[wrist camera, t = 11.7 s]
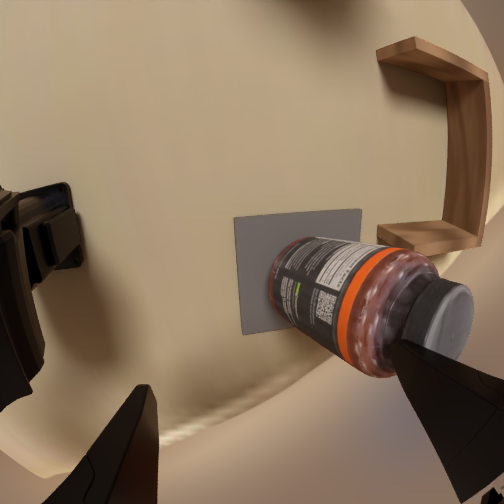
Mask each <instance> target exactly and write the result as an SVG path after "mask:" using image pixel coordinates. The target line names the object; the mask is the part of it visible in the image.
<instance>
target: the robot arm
mask: <svg viewBox="0 0 504 504" xmlns="http://www.w3.org/2000/svg"><path fill="white" fill-rule="evenodd" d="M62 186H63V187H64V192H62V191H61V187H62ZM80 242H81V238H80V234H79V229H78V224H77V219H76V214H75V210H74V209H73V208H72V202H71V196H70V190H69V185H68V184H67V183H66V182H60V183H56V184H52V185H48V186H44V187H40V188H36V189H33V190H29V191H25V192H22V193H20V192H12V191H6V190H4V189H2V187H1V186H0V412H1V411H2V410H3V409H4V408H5V407H6V406H8V405H9V404H11V403H12V402H14V401H15V400H17V399H19V398H22V397H24V396H27V395H30V394H32V393H33V390H32V388H31V386H30V384H29V382H30V381H31V380H32V379H33V378H34V377H35V376H36V374H37V373H38V372H39V371H40V370H41V368H42V366H43V364H44V359H43V356H44V350H45V341H44V338H43V335H42V331H41V328H40V324H39V320H38V316H37V312H36V308H35V304H34V300H33V295H32V291H33V289H34V288H35V287H36V286H37V285H38V284H39V283H41V282H42V281H43V280H44V279H45V278H46V277H47V276H48V275H49V274H50V273H51V272H52V271H53V270H60V269H69V268H78V267H80V266H81V265H82V264H83V262H84V259H83V255H82V251H81V247H80ZM75 258H77V259H78V260H79V262H77V261H76V260H75ZM391 362H392V365H393V367H394V369H395V372H396V374H397V376H398V378H399V381H400V383H401V385H402V388H403V389H404V392H405V394H406V396H407V398H408V399H409V401H410V403H411V405H412V407H413V408H414V410H415V412H416V414H417V416H418V417H419V419H420V421H421V423H422V425H423V427H424V429H425V431H426V432H427V434H428V436H429V438H430V440H431V442H432V444H433V446H434V448H435V450H436V452H437V454H438V456H439V458H440V460H441V462H442V464H443V466H444V469H445V471H446V473H447V475H448V477H449V479H450V481H451V484H452V486H453V488H454V490H455V492H456V495H457V497H458V499H459V501H460V503H461V504H462V503H463V502H465V501H466V500H468V499H469V498H471V497H472V496H474V495H475V494H477V493H478V492H479V491H481V490H482V489H483V488H485V487H486V486H487V485H489V484H490V483H491V484H492V485H493V487H492V488H491V489H490V490H489V491H488V492H486V494H484V495H483V496H482V500H481V504H504V380H503V379H500V378H497V377H494V376H491V375H489V374H486V373H484V372H481V371H479V370H476V369H474V368H472V367H469V366H467V365H465V364H462V363H460V362H458V361H456V360H453V359H451V358H449V357H446V356H444V355H442V354H439V353H437V352H435V351H433V350H430V349H428V348H426V347H423V346H421V345H419V344H417V343H414V342H412V341H410V340H408V339H402V340H399V341H397V342H396V343H395V345H394V349H393V352H392V355H391ZM158 457H159V433H158V415H157V402H156V398H155V396H154V394H153V391H152V389H151V387H150V385H148V384H139V385H137V386H136V387H135V388H134V390H133V391H132V392H131V394H130V395H129V396H128V398H127V399H126V400H125V402H124V403H123V404H122V406H121V407H120V408H119V410H118V411H117V412H116V414H115V415H114V416H113V418H112V419H111V421H110V422H109V423H108V425H107V426H106V427H105V429H104V430H103V431H102V433H101V434H100V435H99V437H98V438H97V439H96V441H95V442H94V443H93V445H92V446H91V448H90V449H89V450H88V452H87V453H86V455H85V456H84V457H83V458H82V460H81V461H80V462H79V464H78V465H77V466H76V467H75V469H74V470H73V471H72V472H71V474H70V475H69V476H68V477H67V478H66V479H65V480H64V481H63V483H62V484H61V485H60V486H59V487H58V488H57V489H56V490H55V491H54V492H53V493H52V494H51V495H50V496H49V497H48V498H47V499H46V500H45V501H44V502H43V503H42V504H157V489H158V486H157V485H158Z"/></svg>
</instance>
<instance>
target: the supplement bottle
mask: <svg viewBox="0 0 504 504" xmlns="http://www.w3.org/2000/svg"><path fill="white" fill-rule="evenodd" d="M268 288H269V295H270V300H271V302H272V305H273V307H274V308H275V310H276V311H277V313H278V314H279V315H280V316H281V317H282V318H284V319H285V320H286V321H288V322H289V323H291V324H292V325H293V326H294V327H296V328H297V329H299V330H300V331H302V332H303V333H304V334H306V335H307V336H309V337H310V338H312V339H313V340H315V341H316V342H317V343H319V344H321V345H322V346H323V347H325V348H326V349H328V350H329V351H331V352H332V353H334V354H335V355H337V356H338V357H340V358H341V359H343V360H344V361H346V362H347V363H349V364H350V365H352V366H353V367H355V368H356V369H358V370H359V371H361V372H363V373H364V374H366V375H369V376H371V377H376V378H389V377H391V376H395V375H397V374H396V372H395V369H394V367H393V365H392V362H391V355H392V352H393V349H394V345H395V343H396V342H397V341H399V340H402V339H408V340H410V341H412V342H414V343H417V344H419V345H421V346H423V347H426V348H428V349H430V350H433V351H435V352H437V353H439V354H442V355H444V356H446V357H449V358H451V359H453V360H456V361H457V360H458V358H459V356H460V355H461V353H462V351H463V349H464V347H465V345H466V342H467V339H468V337H469V334H470V330H471V326H472V321H473V315H474V303H473V296H472V293H471V291H470V289H469V288H468V287H467V286H466V285H463V284H460V283H456V282H452V281H449V280H446V279H441V278H440V277H439V274H438V271H437V269H436V268H435V266H434V264H433V263H432V262H431V261H430V259H428V258H427V257H426V256H424V255H423V254H421V253H419V252H416V251H412V250H409V249H403V248H396V247H390V246H383V245H376V244H369V243H361V242H354V241H347V240H339V239H332V238H324V237H304V238H301V239H298V240H296V241H294V242H292V243H291V244H289V245H288V246H287V247H285V248H284V249H283V250H282V251H281V253H280V254H279V255H278V257H277V258H276V260H275V261H274V264H273V266H272V269H271V272H270V276H269V283H268Z"/></svg>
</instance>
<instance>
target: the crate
mask: <svg viewBox="0 0 504 504" xmlns="http://www.w3.org/2000/svg"><path fill="white" fill-rule="evenodd" d="M376 52H377V61H381V62H385V63H388V64H392V65H396V66H399V67H403V68H406V69H409V70H412V71H415V72H419V73H421V74H424V75H427V76H430V77H433V78H436V79H438V80H441V81H443V82H445V84H446V96H447V112H448V163H447V180H446V192H445V202H444V211H443V219H442V220H438V221H424V222H410V223H397V224H383V225H378V230H377V237H379V238H381V239H382V240H384V241H386V242H387V243H389V244H390V245H392V246H394V247H396V248H403V249H409V250H412V251H416V252H419V253H421V254H423V255H424V256H431V255H436V254H442V253H448V252H453V251H459V250H464V249H469V248H474V247H480V246H481V243H482V238H483V233H484V227H485V221H486V215H487V208H488V200H489V191H490V180H491V166H492V113H491V99H490V88H489V80H488V73H487V72H485V71H484V70H482V69H480V68H479V67H477V66H475V65H473V64H472V63H470V62H468V61H466V60H464V59H463V58H461V57H459V56H457V55H455V54H453V53H451V52H449V51H447V50H445V49H443V48H441V47H438V46H436V45H434V44H432V43H429V42H427V41H425V40H422V39H420V38H418V37H415V36H414V37H411V38H408V39H405V40H402V41H399V42H397V43H394V44H391V45H388V46H386V47H383V48H380V49H378V50H376Z"/></svg>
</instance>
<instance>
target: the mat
mask: <svg viewBox="0 0 504 504" xmlns="http://www.w3.org/2000/svg"><path fill="white" fill-rule="evenodd" d="M361 218H362V210H361V209H342V210H325V211H310V212H296V213H282V214H269V215H257V216H246V217H235V218H234V230H235V245H236V259H237V273H238V287H239V300H240V313H241V325H242V334H243V335H246V334H254V333H261V332H267V331H274V330H280V329H286V328H292V327H294V326H293V325H292V324H291V323H289V322H288V321H286V320H285V319H284V318H282V317H281V316H280V315H279V314H278V313H277V311H276V310H275V308H274V307H273V305H272V302H271V300H270V295H269V288H268V283H269V276H270V272H271V269H272V266H273V264H274V261H275V260H276V258H277V257H278V255H279V254H280V253H281V251H282V250H283V249H284V248H285V247H287V246H288V245H289V244H291V243H292V242H294V241H296V240H298V239H301V238H304V237H324V238H332V239H339V240H347V241H354V242H360V232H361Z"/></svg>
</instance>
